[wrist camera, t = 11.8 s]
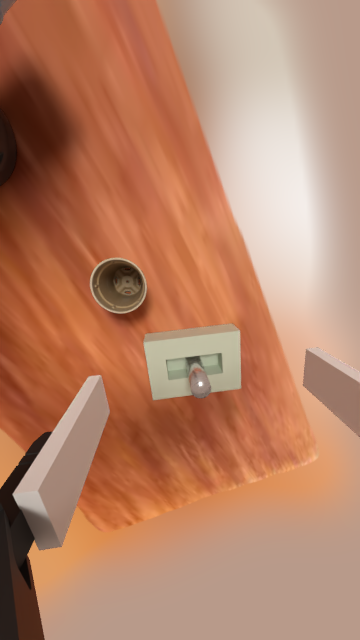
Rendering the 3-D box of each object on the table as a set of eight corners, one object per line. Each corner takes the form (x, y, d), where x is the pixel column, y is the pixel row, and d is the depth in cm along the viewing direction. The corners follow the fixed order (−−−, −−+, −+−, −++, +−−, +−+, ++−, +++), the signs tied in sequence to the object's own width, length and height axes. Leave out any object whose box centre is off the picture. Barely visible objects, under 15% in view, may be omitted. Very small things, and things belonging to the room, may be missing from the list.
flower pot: (117, 310, 44) (106, 321, 36) (96, 268, 42) (79, 270, 33) (157, 293, 44) (155, 301, 36) (138, 250, 41) (132, 248, 33)
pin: (184, 352, 47) (190, 382, 36) (199, 350, 47) (210, 379, 36) (185, 366, 48) (192, 399, 37) (200, 364, 48) (211, 396, 37)
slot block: (145, 333, 46) (143, 342, 42) (232, 323, 47) (240, 330, 42) (154, 386, 50) (153, 400, 46) (233, 376, 51) (241, 388, 46)
